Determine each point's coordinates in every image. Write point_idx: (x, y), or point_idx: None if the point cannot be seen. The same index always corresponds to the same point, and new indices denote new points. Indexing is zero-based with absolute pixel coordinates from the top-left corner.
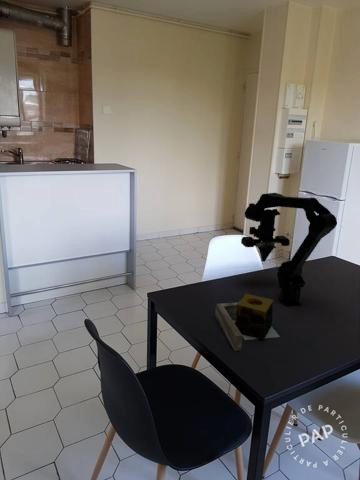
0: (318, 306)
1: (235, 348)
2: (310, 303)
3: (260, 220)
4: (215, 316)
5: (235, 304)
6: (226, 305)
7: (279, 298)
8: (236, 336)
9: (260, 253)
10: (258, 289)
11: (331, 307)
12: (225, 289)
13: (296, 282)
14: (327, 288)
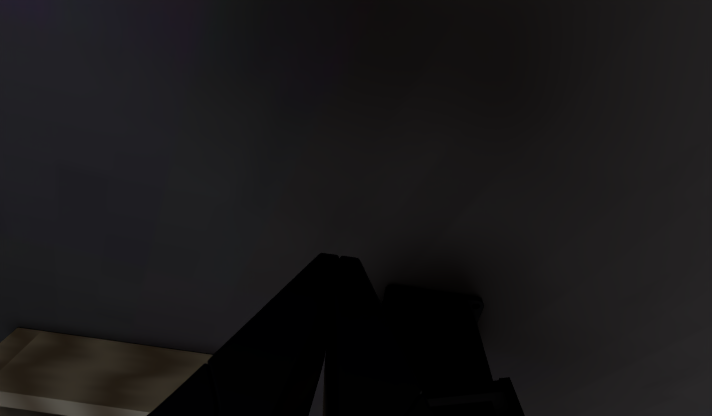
0: (531, 381)
1: None
2: (521, 355)
3: None
4: (16, 332)
5: (53, 409)
6: (8, 404)
7: (386, 297)
8: None
9: (211, 381)
10: (335, 133)
11: (581, 400)
12: (68, 62)
13: (507, 414)
14: None
